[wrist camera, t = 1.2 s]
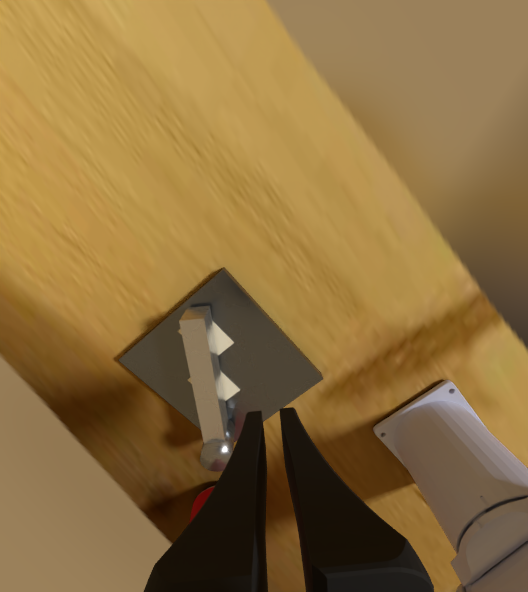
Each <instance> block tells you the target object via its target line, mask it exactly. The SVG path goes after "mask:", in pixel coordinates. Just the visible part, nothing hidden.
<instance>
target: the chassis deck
mask: <svg viewBox="0 0 528 592" xmlns="http://www.w3.org/2000/svg"><path fill="white" fill-rule="evenodd" d="M201 306H210V310H211V316H212V321H213V322H214V323H215V324H216V325H217V326H218V327H219V328H220V329H221V330H222V331H223V332H224V333H225V334H226V335H227V336H228V337H229V338H230V339H231V340H232V341H233V342H234V343H233V344H232V345H231V346H230V347H228V348H227V349H226V350H225V351H223V352H222V353H221V354H220V355H218V359H219V365H220V371H221V372H222V373H223V374H224V375H225V376H226V377H227V378H229V379H230V380H231V381H232V382H233V383H234V384H235V385H236V386H237V387H238V388H239V389H240V391H238V392H237V393H236V394H234V395H233V396H232V397H230V398H229V399H228V400H226V401H225V402H226V408H227V415H228V419H229V420H230V421H232V422H233V424H234V426H235V434H234V442H235V441H237V440H238V438H239V436H240V433H241V430H242V428H243V425H244V421H245V417H246V414H247V413H248V412H252V411H262V419H263V422H264V421H265V420H266V419H268V418H269V417H271V416H272V415H273V414H275V413H276V412H278V411H279V410H280V409H282V408H283V407H285V406H286V405H287V404H289V403H290V402H292V401H293V400H294V399H296V398H297V397H299V396H300V395H301V394H303V393H304V392H306V391H307V390H308V389H310V388H311V387H313V386H314V385H315V384H317V383H318V382H320V381H321V380H322V379H323V376H322V374H321V372H320V371H319V370H318V369H317V368H316V367H315V366H314V365H313V364H312V363H311V362H310V360H309V359H308V358H307V357H306V356H305V355H304V354H303V353H302V352H301V351H300V350H299V348H298V347H297V346H296V345H295V344H294V343H293V342H292V341H291V340H290V339H289V337H288V336H287V335H286V334H285V333H284V332H283V331H282V330H281V329H280V328H279V327H278V325H277V324H276V323H275V322H274V321H273V320H272V319H271V318H270V317H269V316H268V315H267V313H266V312H265V311H264V310H263V309H262V308H261V307H260V306H259V305H258V304H257V303H256V301H255V300H254V299H253V298H252V297H251V296H250V295H249V294H248V293H247V292H246V291H245V289H244V288H243V287H242V286H241V285H240V284H239V283H238V282H237V281H236V280H235V279H234V277H233V276H232V275H231V274H230V273H229V272H228V271H227V270H226V269H225V268H223V269H221V270H220V271H219V272H218V273H217V274H216V275H215V276H213V277H212V278H211V279H210V280H209V281H208V282H206V283H205V284H204V285H203V286H202V287H201V288H200V289H198V290H197V291H196V292H195V293H194V294H193V295H192V296H190V297H189V298H188V299H187V300H186V301H185V302H183V303H182V304H181V305H180V306H179V307H178V308H177V309H175V310H174V311H173V312H172V313H171V314H170V315H168V316H167V317H166V318H165V319H164V320H163V321H162V322H160V323H159V324H158V325H157V326H156V327H155V328H154V329H152V330H151V331H150V332H149V333H148V334H147V335H145V336H144V337H143V338H142V339H141V340H140V341H139V342H137V343H136V344H135V345H134V346H133V347H132V348H130V349H129V350H128V351H127V352H126V353H125V354H124V355H123V356H122V357H121V358H120V359H119V361H120V362H121V363H122V364H123V365H124V366H126V367H127V368H128V369H129V370H130V371H132V372H133V373H134V374H135V375H136V376H137V377H139V378H140V379H141V380H142V381H143V382H145V383H146V384H147V385H148V386H149V387H150V388H152V389H153V390H154V391H155V392H156V393H158V394H159V395H160V396H161V397H162V398H164V399H165V400H166V401H167V402H168V403H169V404H171V405H172V406H173V407H174V408H175V409H177V410H178V411H179V412H180V413H181V414H182V415H184V416H185V417H186V418H187V419H188V420H190V421H191V422H192V423H193V424H194V425H195V426H197V427H198V428H199V429H200V430H201V426H200V421H199V417H198V412H197V407H196V402H195V397H194V392H193V387H192V384H191V383H190V382H189V381H188V379H189V378H190V372H189V367H188V362H187V357H186V353H185V348H184V343H183V338H182V335H181V334H180V333H179V332H178V330H179V329H181V328H180V323H179V320H180V319H181V317H182V316H183V314H184V313H185V311H186V309H187V308H190V307H201Z"/></svg>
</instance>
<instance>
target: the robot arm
mask: <svg viewBox="0 0 528 592" xmlns="http://www.w3.org/2000/svg"><path fill="white" fill-rule="evenodd" d="M450 389H451V390H450ZM449 390H450V391H449ZM280 419H281V430H282V441H283V451H284V459H285V468H286V473H287V478H288V482H289V487H290V492H291V497H292V502H293V507H294V511H295V516H296V521H297V527H298V532H299V539H300V547H301V555H302V562H303V570H304V578H305V586H306V592H434V586H433V584H432V582H431V579H430V577H429V575H428V573H427V571H426V569H425V567H424V566H423V564H422V562H421V560H420V559H419V557H418V555H417V554H416V552H415V551H414V549H413V548H412V546H411V545H410V543H409V542H408V540H407V539H406V538H405V537H404V536H402V535H401V534H400V533H398V532H397V531H396V530H395V529H393V528H392V527H391V526H390V525H389V524H387V523H386V522H385V521H384V520H383V519H381V518H380V517H379V516H378V515H377V514H376V513H375V512H374V511H373V510H371V509H370V508H369V507H368V506H367V505H366V504H365V503H364V502H363V501H362V500H361V499H360V498H359V497H358V496H357V495H356V494H355V493H354V492H353V491H352V490H351V489H350V488H349V487H348V486H347V485H346V484H345V483H344V482H343V480H342V479H341V478H340V477H339V476H338V475H337V474H336V472H335V471H334V470H333V469H332V468H331V466H330V465H329V464H328V463H327V461H326V460H325V459H324V457H323V456H322V455H321V453H320V452H319V450H318V449H317V448H316V446H315V445H314V443H313V442H312V440H311V438H310V437H309V435H308V434H307V432H306V430H305V429H304V427H303V425H302V423H301V421H300V419H299V417H298V415H297V413H296V410H295V409H294V408H293V407H292V408H282V409H280ZM373 431H374V433H375V434H376V436H377V437H378V438H379V439H380V440H381V441H382V442H383V443H384V444H385V445H386V446H387V448H388V449H389V450H390V451H391V452H392V453H393V454H394V455H395V456H396V457H397V458H398V460H399V461H400V462H401V463H402V464H403V465H404V466H405V467H406V468H407V469H408V471H409V473H410V474H411V476H412V478H413V479H414V481H415V483H416V485H417V486H418V488H419V490H420V491H421V493H422V495H423V497H424V498H425V500H426V502H427V503H428V505H429V507H430V509H431V510H432V512H433V514H434V515H435V517H436V519H437V521H438V522H439V524H440V526H441V528H442V529H443V531H444V533H445V534H446V536H447V538H448V540H449V541H450V543H451V545H452V546H453V548H454V550H455V552H456V553H457V556H456V557H455V558H454V559H453V560H452V561H451V565H452V567H453V568H454V570H455V572H456V574H457V576H458V578H459V579H460V581H461V583H462V584H460V585H459V586H458V588H457V590H456V592H528V468H527V467H526V466H525V465H524V464H523V463H522V462H521V461H519V460H518V459H517V458H516V457H515V456H514V455H513V454H512V453H511V452H510V451H509V450H508V449H507V448H506V447H505V446H504V445H503V444H502V443H501V442H500V441H499V440H498V439H497V438H496V437H494V436H493V435H492V434H491V433H490V432H489V431H488V430H487V428H486V427H485V425H484V424H483V423H482V421H481V420H480V419H479V417H478V416H477V415H476V413H475V412H474V411H473V409H472V408H471V406H470V405H469V404H468V402H467V401H466V400H465V398H464V397H463V396H462V394H461V393H460V392H459V390H458V389H457V387H456V386H455V385H454V384H453V383H452V382H451V381H450V380H445V381H443V382H442V383H440V384H438V385H437V386H435V387H434V388H432V389H431V390H429V391H428V392H426V393H425V394H423V395H422V396H420V397H418V398H417V399H415V400H414V401H412V402H411V403H409V404H408V405H406V406H405V407H403V408H402V409H400V410H398V411H397V412H395V413H394V414H392V415H391V416H389V417H388V418H386V419H385V420H383V421H382V422H380V423H378V424H377V425H375V426H374V428H373ZM381 433H382V434H381ZM266 487H267V461H266V445H265V437H264V428H263V419H262V411H252V412H248V413H247V414H246V417H245V421H244V425H243V428H242V430H241V433H240V436H239V438H238V441H237V443H236V446H235V448H234V451H233V453H232V455H231V457H230V459H229V461H228V463H227V465H226V467H225V469H224V471H223V473H222V475H221V476H220V478H219V480H218V482H217V483H216V485H215V487H214V489H213V490H212V492H211V493H210V495H209V496H208V498H207V499H206V501H205V503H204V504H203V506H202V507H201V508H200V510H199V511H198V513H197V514H196V515H195V517H194V518H193V519H192V521H191V522H190V523H189V525H188V526H187V527H186V529H185V530H184V531H183V532H182V534H181V535H180V536H179V537H178V539H177V540H176V541H175V542H174V543H173V544H172V546H171V547H170V548H169V549H168V550H167V551H166V552H165V554H164V555H163V556H162V557H161V558H160V560H158V562H157V563H156V564H155V565H154V567H153V570H152V572H151V575H150V577H149V579H148V582H147V585H146V587H145V590H144V592H268V583H267V562H266V540H265V520H266Z"/></svg>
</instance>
